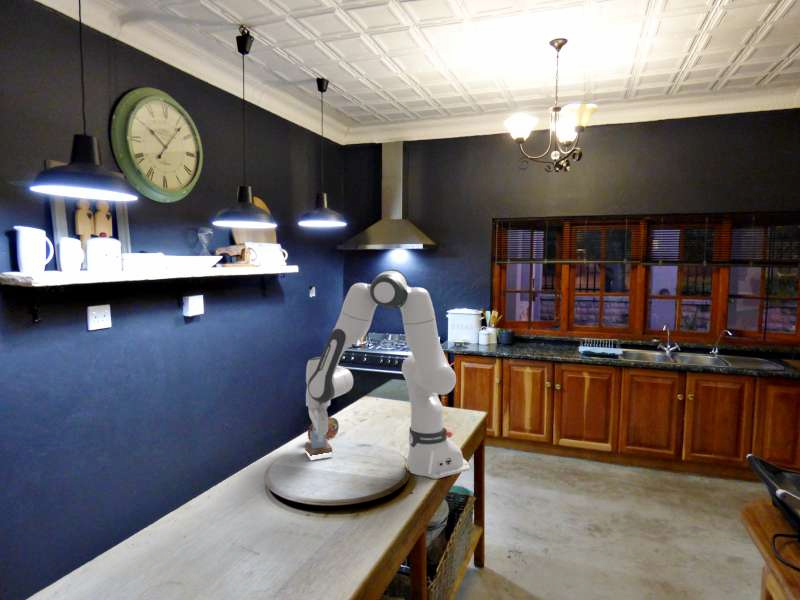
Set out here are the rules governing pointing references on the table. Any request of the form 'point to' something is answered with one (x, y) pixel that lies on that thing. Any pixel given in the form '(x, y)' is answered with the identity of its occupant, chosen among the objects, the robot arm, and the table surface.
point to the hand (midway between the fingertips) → (318, 436)
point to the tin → (332, 428)
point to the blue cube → (315, 442)
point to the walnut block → (317, 449)
